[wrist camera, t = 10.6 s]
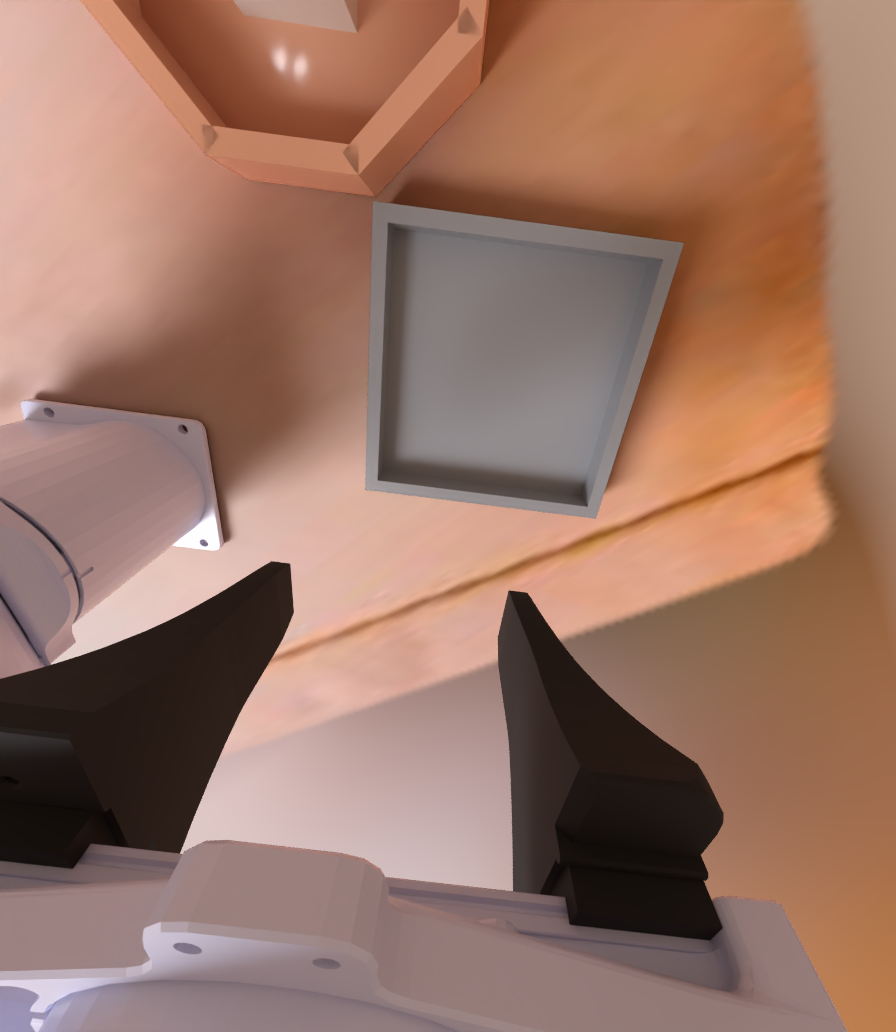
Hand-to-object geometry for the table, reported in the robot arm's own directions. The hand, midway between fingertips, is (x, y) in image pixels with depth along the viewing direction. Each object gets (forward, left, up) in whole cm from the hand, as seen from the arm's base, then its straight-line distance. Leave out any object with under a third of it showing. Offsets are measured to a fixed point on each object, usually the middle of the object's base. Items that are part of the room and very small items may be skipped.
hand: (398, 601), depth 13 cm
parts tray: (+3, +6, -10) cm, 12 cm away
